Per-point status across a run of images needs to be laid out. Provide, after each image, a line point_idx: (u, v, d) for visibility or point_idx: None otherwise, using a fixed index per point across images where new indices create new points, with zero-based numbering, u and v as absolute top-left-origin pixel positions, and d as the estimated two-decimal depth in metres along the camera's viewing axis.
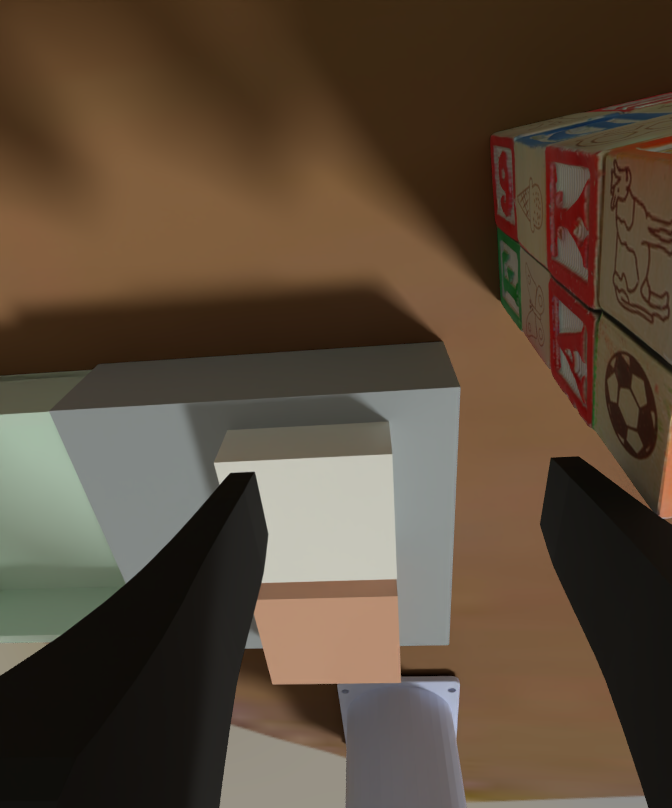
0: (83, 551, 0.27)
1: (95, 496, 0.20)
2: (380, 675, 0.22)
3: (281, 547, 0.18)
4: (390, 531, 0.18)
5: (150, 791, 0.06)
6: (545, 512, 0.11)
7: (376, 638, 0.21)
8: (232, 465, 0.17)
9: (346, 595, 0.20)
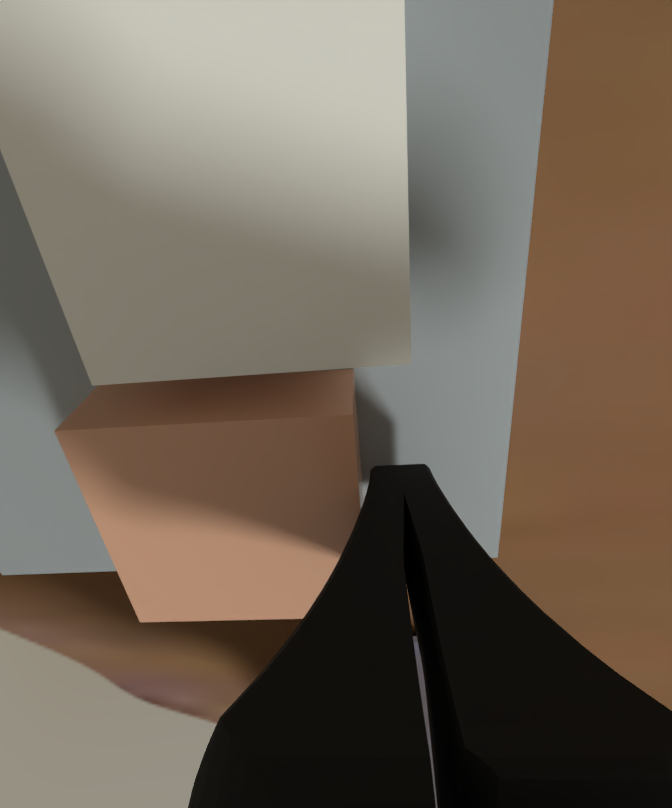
0: None
1: None
2: None
3: (151, 276, 0.08)
4: (396, 215, 0.08)
5: None
6: None
7: (317, 520, 0.11)
8: None
9: (248, 418, 0.10)
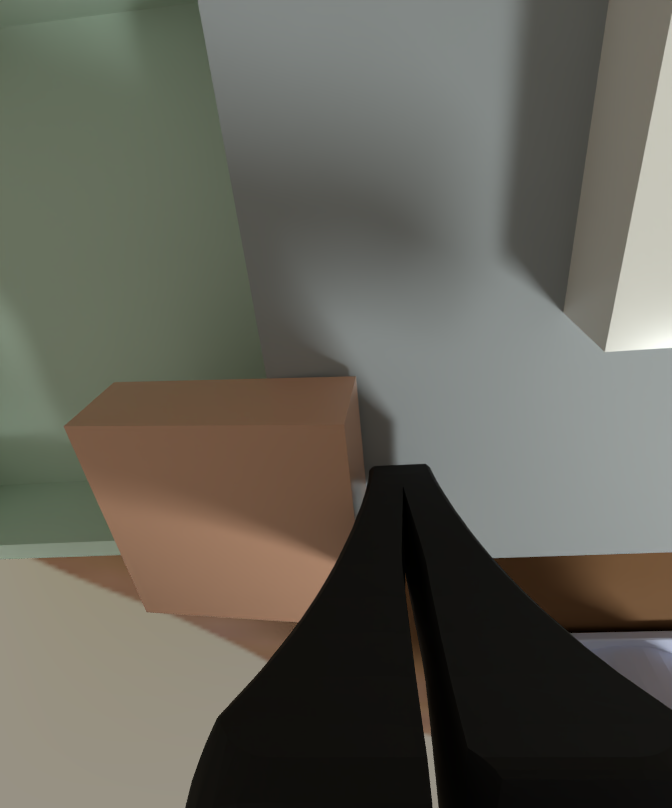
0: None
1: (249, 179, 0.09)
2: None
3: None
4: None
5: None
6: None
7: (312, 527, 0.11)
8: None
9: (242, 422, 0.10)
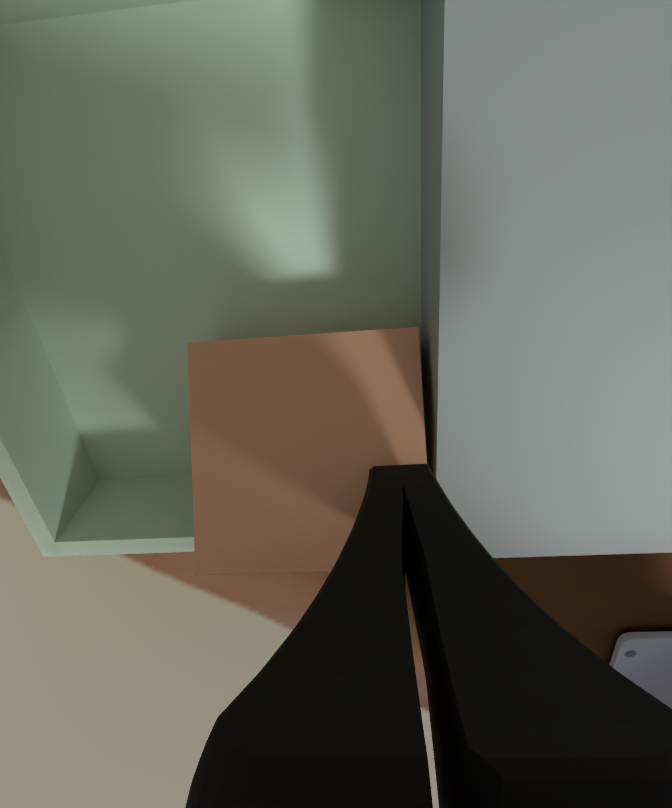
0: None
1: (461, 157, 0.09)
2: None
3: None
4: None
5: None
6: None
7: (385, 434, 0.12)
8: None
9: (337, 332, 0.13)
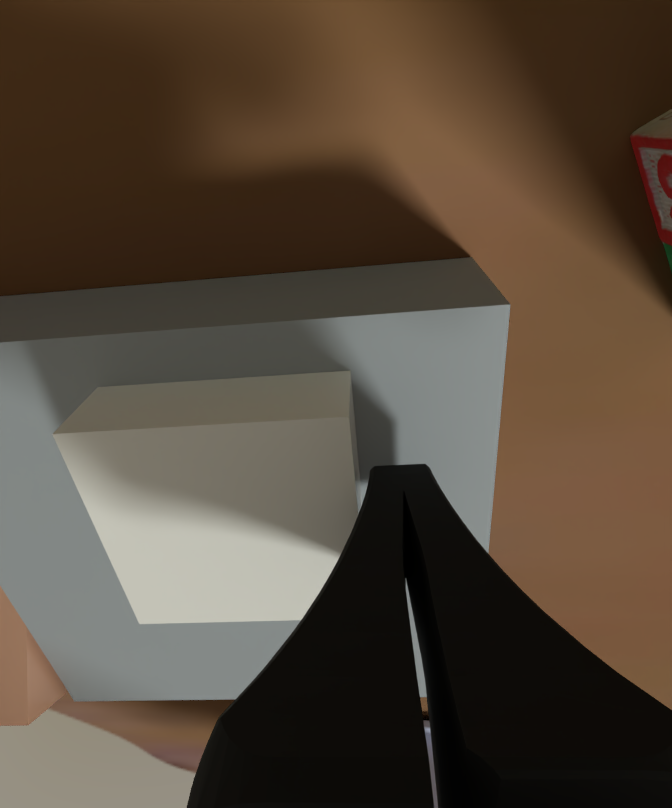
0: None
1: None
2: (1, 708, 0.17)
3: (185, 570, 0.12)
4: None
5: None
6: None
7: None
8: (84, 438, 0.10)
9: None
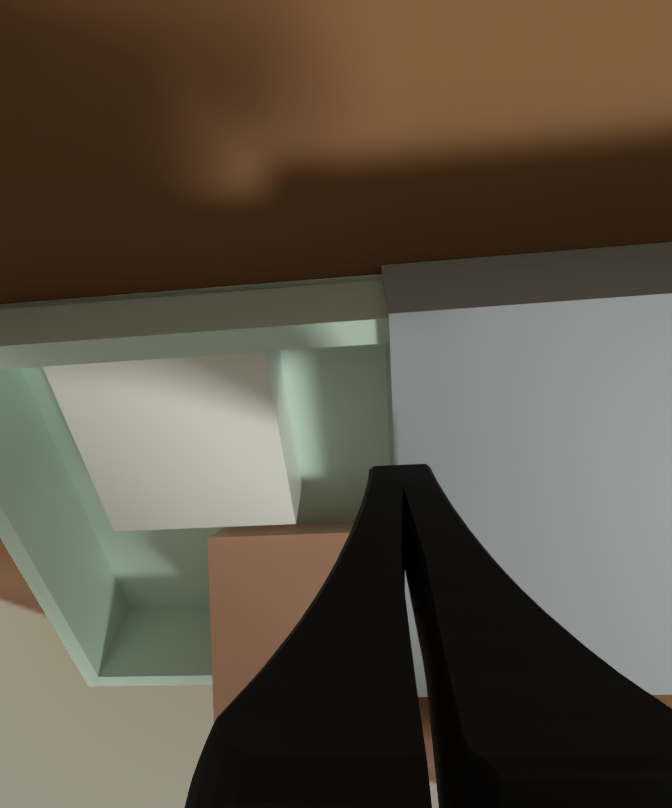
0: None
1: None
2: None
3: None
4: None
5: None
6: None
7: None
8: None
9: (324, 533, 0.16)
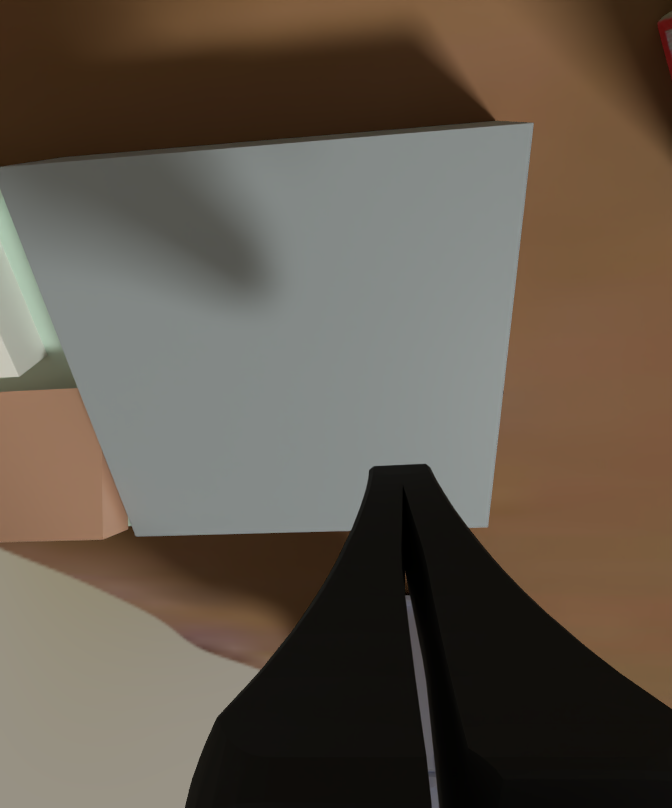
0: None
1: (56, 307, 0.16)
2: (80, 525, 0.19)
3: None
4: None
5: None
6: None
7: (78, 455, 0.19)
8: None
9: (52, 389, 0.20)
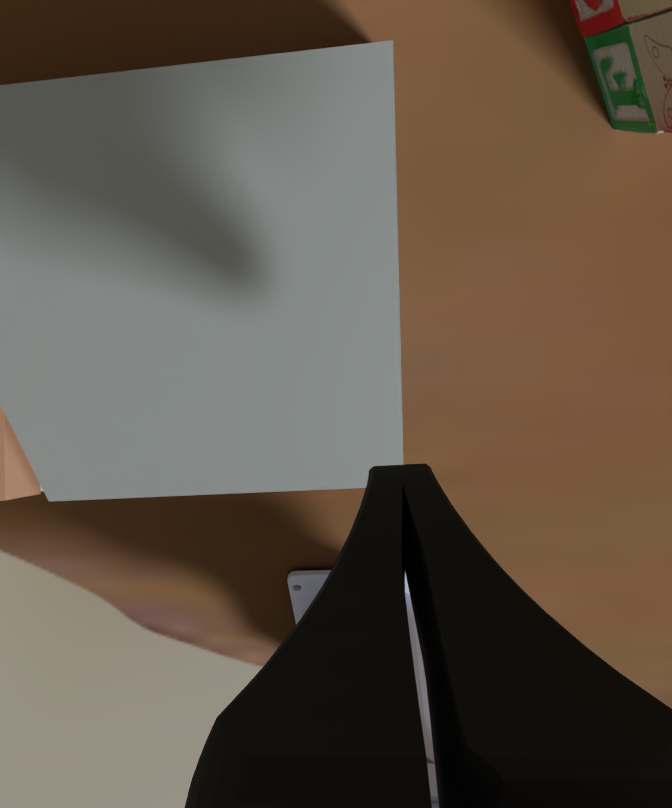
0: None
1: None
2: None
3: None
4: None
5: None
6: None
7: None
8: None
9: None
